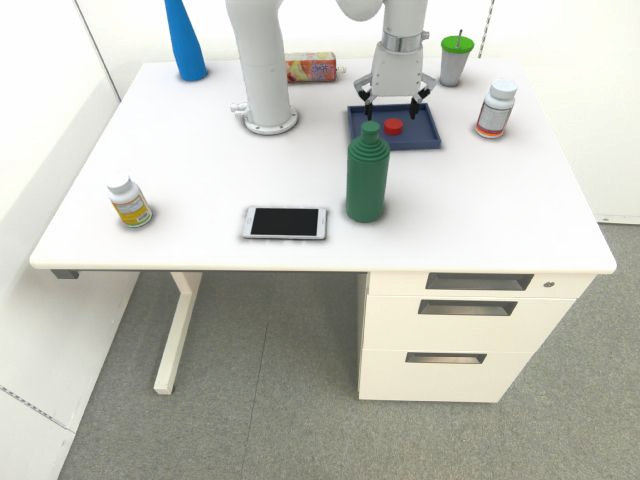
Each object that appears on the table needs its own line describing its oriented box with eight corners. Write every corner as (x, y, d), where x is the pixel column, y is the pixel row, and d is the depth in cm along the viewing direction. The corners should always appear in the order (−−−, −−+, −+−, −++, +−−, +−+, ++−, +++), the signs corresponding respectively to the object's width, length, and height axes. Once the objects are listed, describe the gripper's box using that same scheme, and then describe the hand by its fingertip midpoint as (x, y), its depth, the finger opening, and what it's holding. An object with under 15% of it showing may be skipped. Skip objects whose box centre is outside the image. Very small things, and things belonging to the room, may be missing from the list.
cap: (401, 125, 93) (402, 118, 91) (401, 136, 90) (402, 129, 89) (384, 124, 93) (384, 117, 92) (383, 135, 91) (384, 128, 89)
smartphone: (248, 206, 77) (326, 207, 76) (249, 208, 77) (326, 210, 77) (241, 236, 72) (324, 237, 71) (242, 238, 73) (324, 240, 72)
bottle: (175, 79, 111) (133, -53, 88) (189, 66, 115) (152, -63, 92) (199, 83, 109) (162, -51, 86) (211, 70, 114) (180, -61, 90)
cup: (445, 71, 109) (458, 12, 97) (470, 82, 105) (486, 21, 94) (427, 82, 106) (438, 22, 94) (452, 93, 102) (467, 32, 90)
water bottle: (347, 223, 74) (350, 140, 60) (344, 197, 79) (346, 114, 65) (385, 221, 74) (396, 138, 60) (380, 195, 79) (389, 112, 65)
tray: (351, 152, 88) (352, 144, 86) (347, 113, 98) (347, 105, 96) (439, 148, 88) (441, 141, 86) (426, 110, 98) (427, 102, 96)
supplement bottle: (127, 208, 79) (105, 170, 71) (154, 206, 79) (135, 168, 71) (120, 229, 75) (97, 191, 68) (149, 226, 75) (129, 188, 68)
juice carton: (335, 71, 111) (335, 46, 106) (336, 83, 107) (336, 58, 102) (258, 74, 111) (255, 49, 106) (257, 86, 107) (253, 61, 102)
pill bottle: (485, 120, 94) (500, 73, 85) (508, 131, 91) (526, 84, 82) (469, 130, 92) (483, 83, 83) (492, 142, 88) (509, 95, 80)
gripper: (441, 29, 79) (425, 106, 93) (354, 31, 79) (350, 108, 92) (450, 46, 75) (432, 125, 88) (357, 48, 75) (353, 127, 88)
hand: (390, 116), depth 90 cm, fingers open, 9 cm apart
